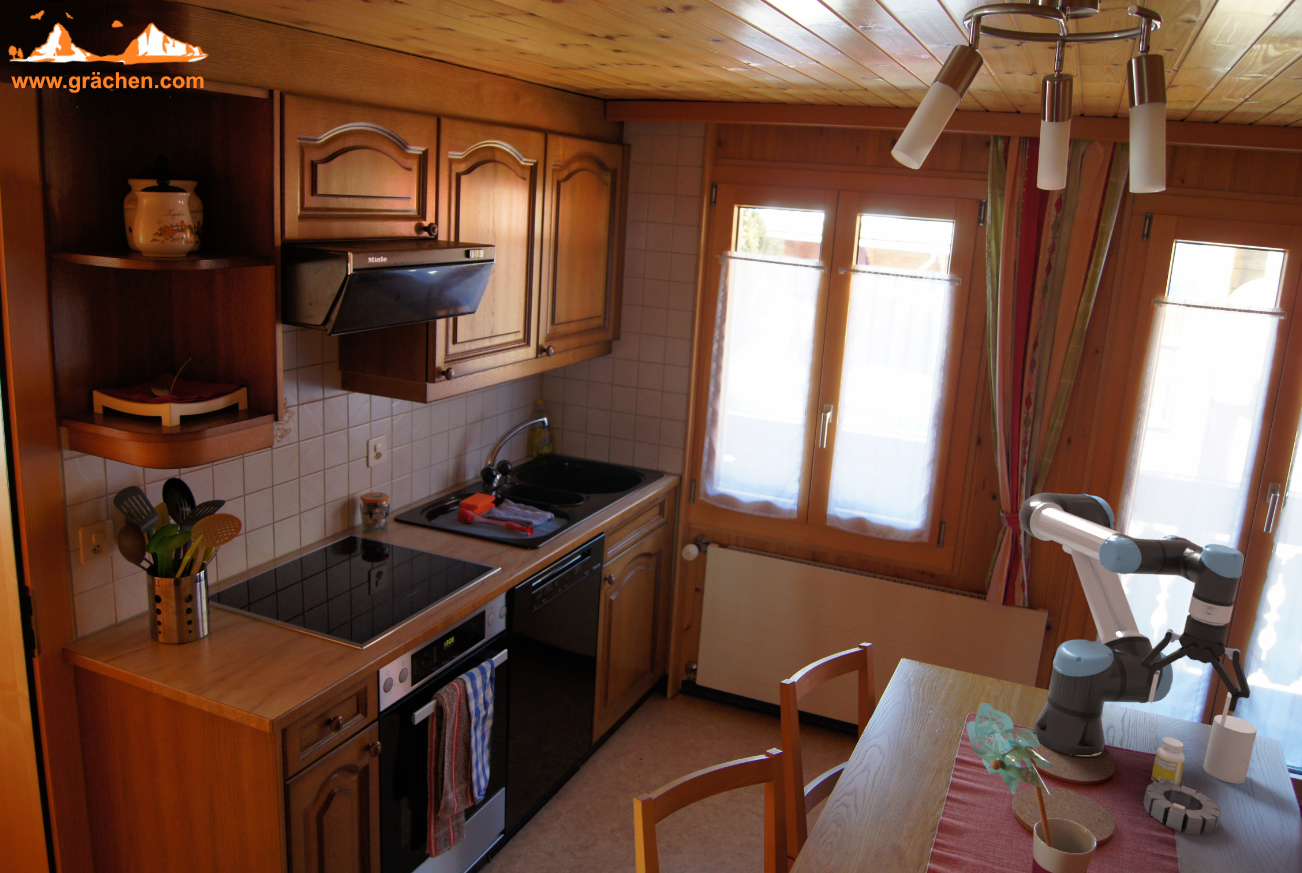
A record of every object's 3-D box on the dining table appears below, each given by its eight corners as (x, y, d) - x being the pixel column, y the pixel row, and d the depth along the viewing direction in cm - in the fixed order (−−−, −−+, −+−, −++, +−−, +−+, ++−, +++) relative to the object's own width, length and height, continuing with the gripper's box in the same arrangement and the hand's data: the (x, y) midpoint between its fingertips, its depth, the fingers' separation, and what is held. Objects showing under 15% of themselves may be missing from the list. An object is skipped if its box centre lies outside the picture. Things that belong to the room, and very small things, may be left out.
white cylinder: (1251, 786, 204) (1263, 736, 202) (1211, 779, 206) (1222, 729, 203) (1236, 767, 212) (1247, 718, 210) (1197, 760, 213) (1208, 712, 211)
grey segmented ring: (1137, 814, 189) (1141, 796, 188) (1151, 789, 199) (1155, 772, 198) (1210, 843, 181) (1214, 824, 180) (1221, 816, 191) (1225, 798, 190)
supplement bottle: (1166, 776, 205) (1175, 735, 203) (1184, 790, 200) (1193, 748, 198) (1145, 776, 204) (1153, 735, 202) (1162, 790, 199) (1171, 748, 197)
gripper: (1139, 605, 198) (1119, 696, 203) (1278, 643, 185) (1253, 740, 189) (1144, 596, 205) (1125, 685, 209) (1279, 632, 191) (1255, 726, 195)
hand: (1186, 711), depth 199 cm, fingers open, 13 cm apart
